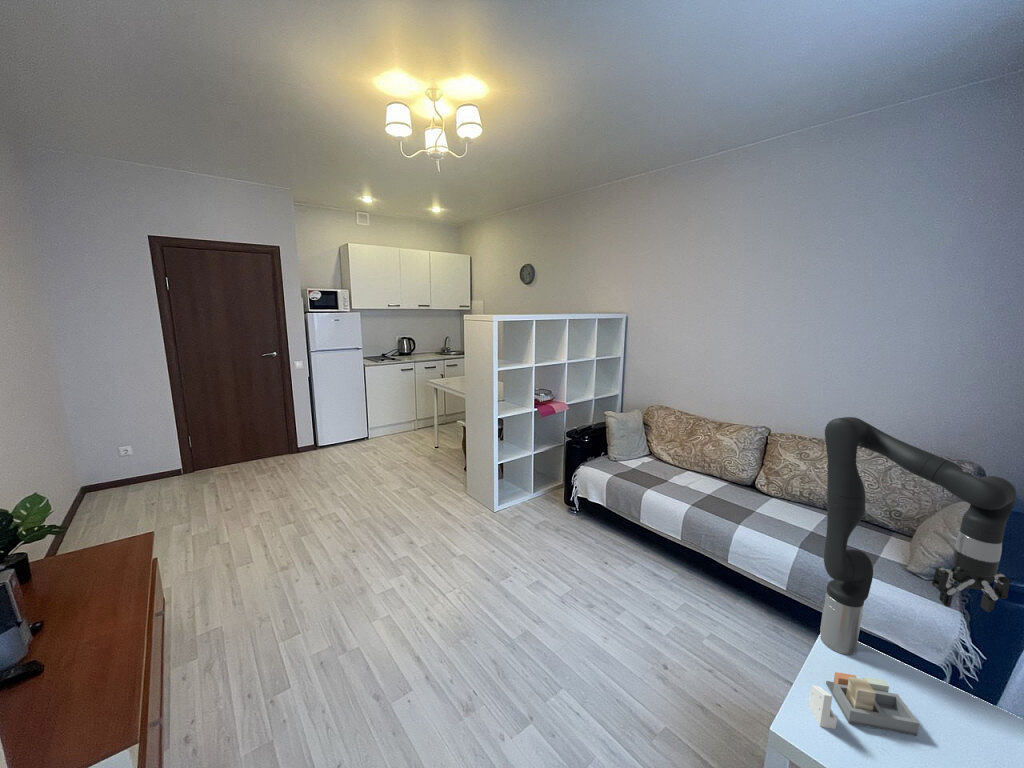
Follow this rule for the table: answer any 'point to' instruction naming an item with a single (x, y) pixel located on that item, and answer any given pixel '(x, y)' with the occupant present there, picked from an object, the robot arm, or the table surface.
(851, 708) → the socket block
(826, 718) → the white angled block
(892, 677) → the table surface
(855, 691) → the tan rectangular block
